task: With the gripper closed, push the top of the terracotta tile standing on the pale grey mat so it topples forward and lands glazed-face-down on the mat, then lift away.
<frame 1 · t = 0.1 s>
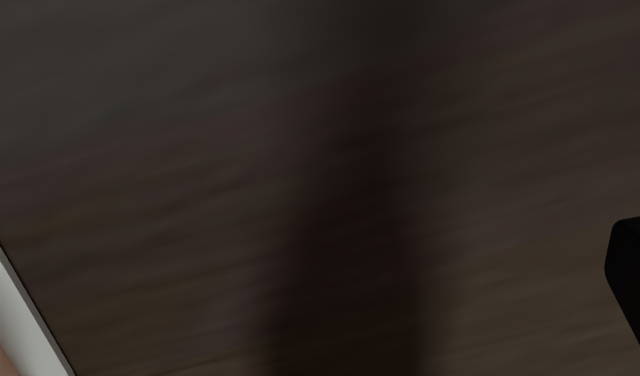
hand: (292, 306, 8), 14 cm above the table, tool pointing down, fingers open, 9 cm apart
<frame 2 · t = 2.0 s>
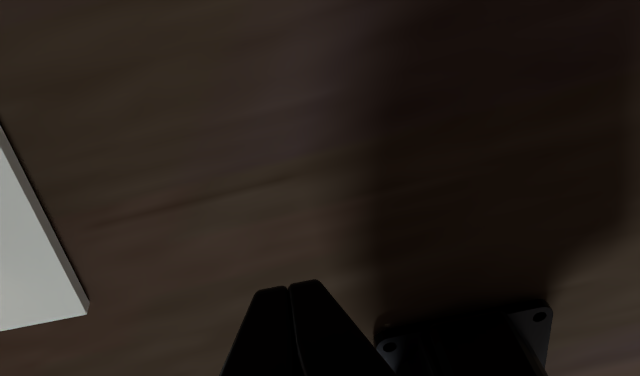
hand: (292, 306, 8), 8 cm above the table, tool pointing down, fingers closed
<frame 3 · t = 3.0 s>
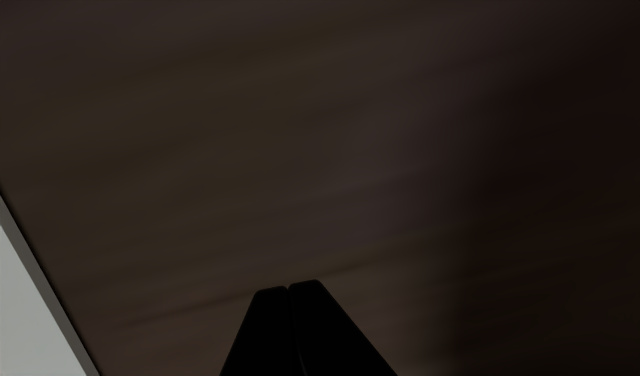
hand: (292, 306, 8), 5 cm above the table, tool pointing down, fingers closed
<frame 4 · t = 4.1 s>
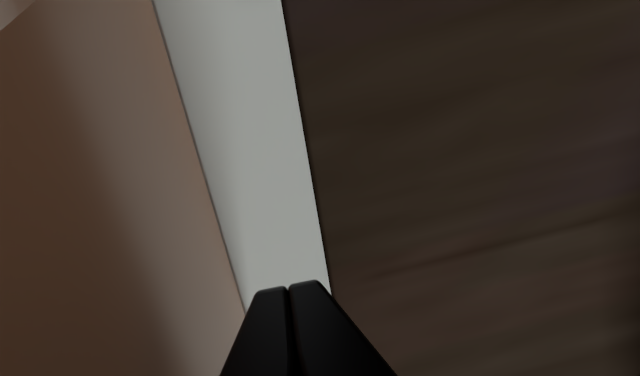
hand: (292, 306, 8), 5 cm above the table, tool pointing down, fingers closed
tile: (151, 182, 11), point 1 cm above the table, tilted 6°, touching mat
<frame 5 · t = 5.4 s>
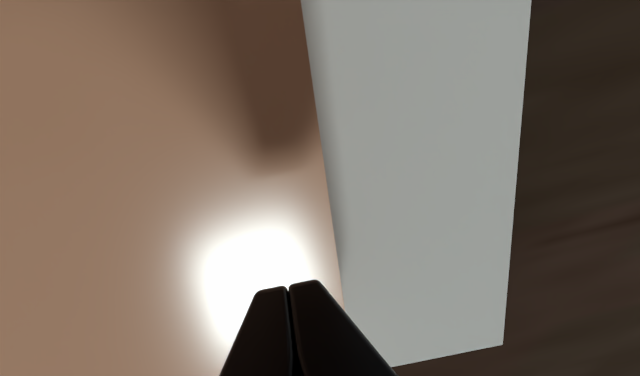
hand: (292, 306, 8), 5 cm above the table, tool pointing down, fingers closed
tile: (322, 181, 10), point 2 cm above the table, tilted 90°, touching mat
mat: (164, 159, 12), on the table
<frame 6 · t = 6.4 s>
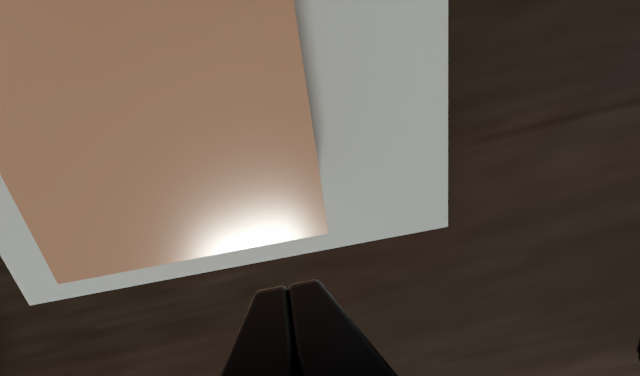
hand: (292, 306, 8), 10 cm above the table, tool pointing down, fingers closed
tile: (301, 69, 15), point 2 cm above the table, tilted 90°, touching mat
mat: (189, 62, 16), on the table
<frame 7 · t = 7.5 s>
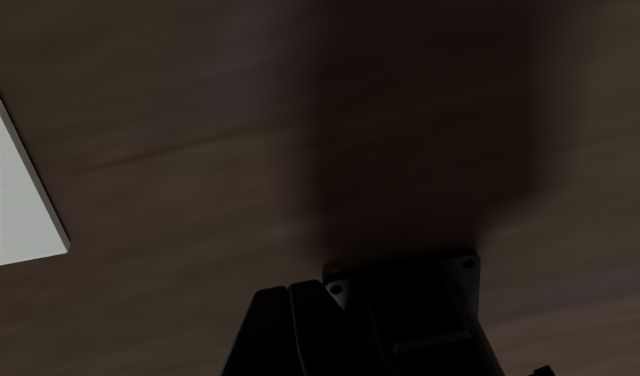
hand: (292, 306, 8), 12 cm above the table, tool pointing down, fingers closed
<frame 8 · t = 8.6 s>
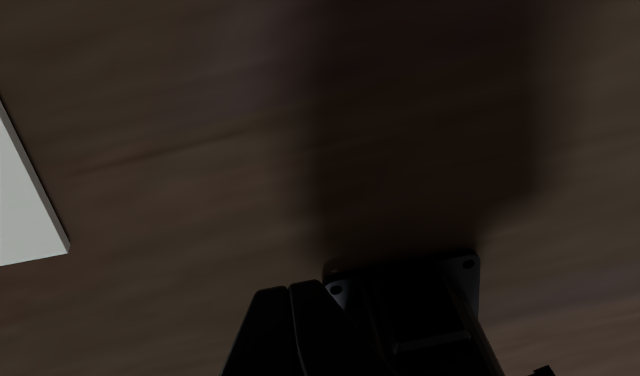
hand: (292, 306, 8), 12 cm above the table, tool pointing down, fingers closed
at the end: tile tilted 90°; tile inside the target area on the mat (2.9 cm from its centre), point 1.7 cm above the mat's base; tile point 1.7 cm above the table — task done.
